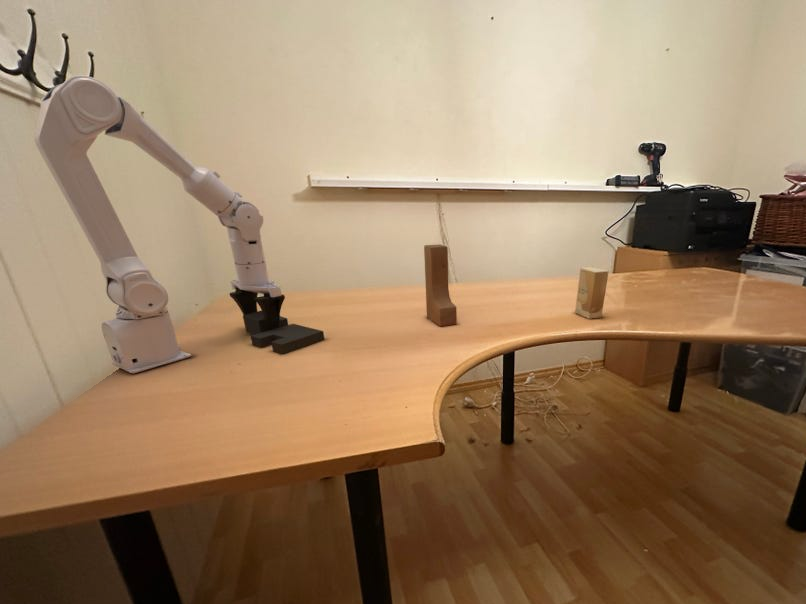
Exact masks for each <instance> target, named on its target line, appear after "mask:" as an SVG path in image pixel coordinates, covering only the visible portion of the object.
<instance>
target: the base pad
mask: <svg viewBox="0 0 806 604" xmlns="http://www.w3.org/2000/svg"><path fill="white" fill-rule="evenodd" d="M250 340H251V344H252V346H255V347H259V348H266V347H268V346H271V348H272V351H273V352H274V353H278V354H281V355H284V354H287V353H291V352H293V351H296V350H299V349H302V348H305V347H309V346H312V345H313V344H316V343H319V342H322V341H324V340H325V333H324V330H321V329H316V328H313V327H309V326H305V325H302V324H301V325H300V324H297V323H290V324H288V325H287V326H283V327H280V328H276V329H273V330H269V331H265V332H262V333H258V334H255V335H252V334H250Z"/></svg>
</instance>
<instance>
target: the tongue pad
mask: <svg viewBox="0 0 806 604" xmlns="http://www.w3.org/2000/svg"><path fill="white" fill-rule="evenodd" d="M242 318H243V323H244V328H245V333H247V334H249V335H255V334H258V333H262V332H265V331H269V330H273V329H276V328H280V327H283V326H287V325H289V321H288V318H287V317H284V316H282V315H280V318H279V326H278V327H275V328H271V329H270V328H268V326H267V324H266V321H265V318H264V314H263V312H262V310H261V309H260V310H257V312H254V313H250V314H246V315H243V314H242Z"/></svg>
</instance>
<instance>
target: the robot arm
mask: <svg viewBox="0 0 806 604" xmlns="http://www.w3.org/2000/svg"><path fill="white" fill-rule="evenodd" d="M39 109H40V110H39V114H38V118H37V123H36V128H35V132H34V137H33V138H34V140H33V141H34V143H35V145H36V148H37V150H38V151H39V153H40V155H41V157H42V159H43V161H44V162H45V164H46V166H47V167H48V169H49V172H50V173H51V175H52V177H53V179H54V181H55V182H56V184H57V187H58V188H59V189H60V191H61V193H62V195H63V197H64V198H65V201H66V202H67V204H68V206H69V207H70V209H71V211H72V213H73V215H74V217H75V218H76V220H77V222H78V224H79V226H80V228H81V230H82V231H83V233H84V235H85V237H86V239H87V240H88V242H89V244H90V246H91V248H92V249H93V251H94V253H95V255H96V256H97V258H98V261H99V263H100V270H101V273H102V275H103V277H104V278H105V293H106V296H107V298H108V299H109V300H110V301H111V302H112V303H113V304H115V305H116V306H118V307H117V310H116V312H115V316H116V317H115V318H113V319H110V320H106V321H103V322H102V323H101V331H102V334H103V338H104V341H105V344H106V346H107V348H108V352H109V354H110V358H111V361H112V362H111V363H112V365H113V366H114V367H117V368H119V369H122V370H123V371H126V372H128V373H129V374H136V373H140V372H143V371H147V370H151V369H153V368H157V367H160V366H164V365H167V364H171V363H174V362H177V361H181V360H185V359H187V358H191V357H192V354H191V353H189V352H186V351H184V350H180V347H179V342H178V338H177V336H176V333H175V329H174V326H173V323H172V322H173V321H172V319H171V315H170V311H169V309H168V307H167V306H168V303H169V293H168V291H167V289H166V287H164V286H163V285H162V284H161V283H160V282H158V281H157V280H156V279H155V278H154V277H153V275H152V273H151V271H150V269H149V268H148V267H147V266H146V265H145V263H144V262H143V261H142V260H141V259H140V257H139V256H138V254H137V252H136V250H135V248H134V246H133V244H132V242H131V240H130V238H129V236H128V234H127V232H126V230H125V228H124V227H123V224H122V222H121V221H120V218H119V216H118V214H117V212H116V211H115V208H114V207H113V204H112V203H111V200H110V198H109V196H108V194H107V192H106V191H105V189H104V187H103V185H102V183H101V180H100V178H99V176H98V174H97V172H96V170H95V168H94V167H93V164H92V162H91V160H90V158H89V156H88V153H87V152H88V151H89V149H90V148H91V147H92V145H93V143H94V142H95V141H96V139H98V136H99V135H100V134H102V133H103V132H104V135H105V136H107V137H112V138H115V139H119V140H122V141H123V140H124V141H127V142H131V143H133V144H134V145H136V146H137V147H138V148H140V149H141V150H142V151H143V152H145V154H148V156H150V157H152V158H153V159H154V160H156V161H157V162H158V163H159V164H161V165H162V166H164V167H165V168H166V169H167V170H169V171H170V172H171V173H173V174H174V175H176V176H177V177H178V178H179V179H181V181H182V185H183V188H184V191H185V192H186V193H187V194H189V195H190V196H191V197H192V198H194V199H195V200H196V201H198V202H199V203H200V204H202V206H203V207H205V208H206V209H207V210H209V211H210V212H211V213H213V214H214V215H215V216H217V219H218V221H219V223H220V224H221V225H222V226H224V227H225V228H226V230H227V234H228V239H229V244H230V248H231V253H232V258H233V262H234V267H235V271H236V276H237V278H236V279H231V280H230V285H231V289H232V290H234V291H232V292H229V293H228V295H229V296H230V298H232V300H233V301H234V302H235V303H236V305H237V306H238V308H239V309H240V311H241V313H242V316H243V315H246V314H250V313H254V312H257V311H258V306H259V308H260V311H261V310H262V312H263V314H264V318H265V321H266V324H267V326H268V328H270V329H271V328H275V327H278V326H279V318H280V316H281V310H282V307H283V304H284V301H285V299H286V296H285V294H282V290H281V286H279V285H276V284H275V281H274V280H272V279H270V278H269V273H268V268H267V262H266V257H265V252H264V247H263V242H262V236H261V229H262V227H263V225H264V216H263V215H261V213H260V211H259V209H258V207H256V205H254V204H253V203H251V202H249V201H243V195H242V194H241V193H239V192H236V191H234V190H233V189H232V188H230V187H229V186H228V185H227V184H226V183H225V182H224V181H223V180H221V179H220V178H221V174H219V173H218V172H217V171H216V170H210V169H209V168H208V167H199V166H195V165H194V164H193V163H192V162H191V161H190V160H189V159H188V157H187V158H186V156H185V155H183V154H182V153H181V152H180V151H179V150H178V149H177V148H176V147H175V146H174V145H173V144H172V143H171V142H169V140H167V138H165V137H164V136H163V135H162V134H161V133H160V132H159V131H158V130H157V129H155V128H154V127H153V125H151V124H150V123H149V122H148V121H147V120H146V119H145V118H144V117H142V115H141V114H140V113H139V112H138V111H137V110H136V109H135V108H134V107H133V106H132V105H131V104H130V103H129V101H126V100H125V99H124V98H123V97H121V96H117V95H116V93H115V92H114V91H113V89H111V88H110V87H109V86H108V85H107V84H106V83H104V82H102V81H100V80H99V79H97V78H94V77H92V76H88V75H84V74H83V75H81V74H78V75H73V76H70V77H68V78H67V79H65V81H64V82H62V83H59V84H56V85H55V86H53V87H52V88H51V89H50V90H48V92H47V93H46V94H45V95H44V96H43V97H42V98H41V99H40V108H39ZM259 294H260V295H262V296H259Z"/></svg>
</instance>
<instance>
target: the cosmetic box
mask: <svg viewBox="0 0 806 604" xmlns="http://www.w3.org/2000/svg"><path fill="white" fill-rule="evenodd" d="M608 277H609V271H608V270H607V269H602V268H598V267H594V266H587V267H581V268H580V271H579V277H578V287H577V294H576V302H575V309H574V313H575V314H577V315H579V316H582V317H584V318H586V319H588V320H591V319H598V318H602V316H603V309H604V303H605V298H606V297H605V296H606V290H607V284H608Z"/></svg>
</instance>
